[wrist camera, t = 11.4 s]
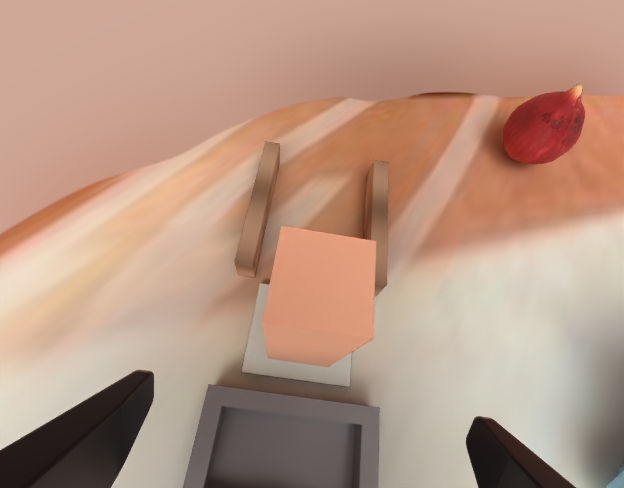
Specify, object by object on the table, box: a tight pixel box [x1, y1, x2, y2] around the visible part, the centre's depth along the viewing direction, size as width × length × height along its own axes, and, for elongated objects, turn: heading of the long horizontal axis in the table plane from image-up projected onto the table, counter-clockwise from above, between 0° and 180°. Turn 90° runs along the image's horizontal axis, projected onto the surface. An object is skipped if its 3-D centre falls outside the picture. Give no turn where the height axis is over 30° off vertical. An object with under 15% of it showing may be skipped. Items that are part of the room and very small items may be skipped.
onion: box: [503, 84, 585, 164], centre depth 28 cm, size 6×6×8 cm
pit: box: [183, 384, 379, 488], centre depth 18 cm, size 6×10×2 cm, turn 83°
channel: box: [235, 141, 388, 296], centre depth 25 cm, size 11×10×2 cm
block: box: [262, 226, 376, 367], centre depth 17 cm, size 4×4×10 cm
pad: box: [241, 283, 352, 387], centre depth 22 cm, size 6×7×1 cm
